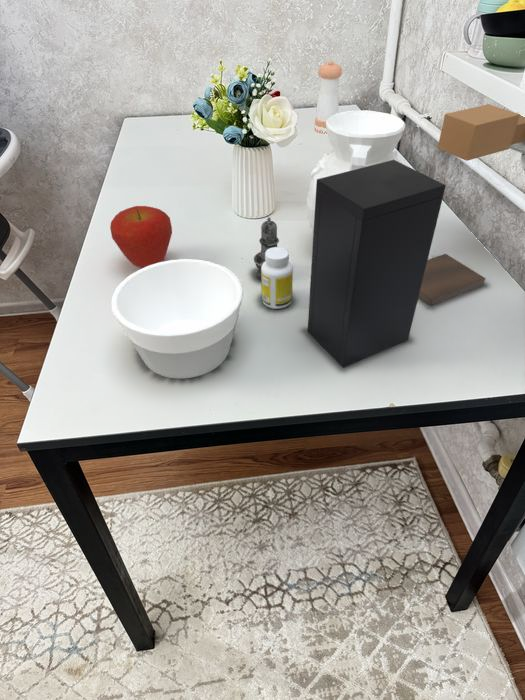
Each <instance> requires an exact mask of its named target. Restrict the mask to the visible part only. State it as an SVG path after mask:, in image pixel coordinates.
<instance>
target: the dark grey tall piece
mask: <svg viewBox="0 0 525 700" xmlns="http://www.w3.org/2000/svg"><path fill="white" fill-rule="evenodd" d="M277 225H278V224H277V223H276V222H275V221H274V220H272V218H271V217H270V216H268V217H267V218H266V220H265V221H264V222H262V223H261V226H260V234H261V235H260V238H259V240H258V241H259V244H260V251H259V252H257V253H256V254H255V255H254V256H253V262H254V264H255V266H256V268H257V271H256V272H255V278H256V279H257V280H258V281H261V282H262V279H261V267H262V264H263V263H264V262H265V252H266V251H267V250H268V249H270V248H273V247H278V243H280V239H279V237H278V226H277Z"/></svg>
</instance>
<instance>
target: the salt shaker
mask: <svg viewBox="0 0 525 700" xmlns="http://www.w3.org/2000/svg"><path fill="white" fill-rule="evenodd" d="M317 74H318V76H319V77H320V79H319V93H318V99H317V102H316V116H315V118H314V126H315V125H316V126H318V127H323V128H326V120H327V119H328V118H329V117H330V116H331V115H333V114H336V113H339V108H340V107H339V83H340V78H341V77H342V74H343V69H342V66H341V65H339V64H337V63H334V61H332V60H329V61H327V63H323V64H322V65H320V66H319V68H318V70H317ZM321 131H322V130H319V131H318V129H317V130H316V128H315V127H314V132H316V133H317V134H321V135H327V132H326V131H325V132H324V133H323V131H322V132H321ZM325 133H326V134H325Z"/></svg>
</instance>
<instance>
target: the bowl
mask: <svg viewBox="0 0 525 700" xmlns="http://www.w3.org/2000/svg"><path fill="white" fill-rule="evenodd" d="M243 298H244V289H243V284H242V283H241V281H240V279H239V277H238V276H237V275H236V274H235V273H234V272H233V271H231V270H230V269H228V268H227V267H225V266H223V265H221V264H219V263H215V262H212V261H208V260H203V259H193V258H180V259H169V260H163V261H162V262H159V263H156V264H152V265H149V266H147V267H144V268H139V269H138V270H136V271H134V272H132V273H131V274H129V275H128V276H127V277H126V278H124V279H123V280H122V281H121V282H119V284H118V285H117V287H116V288H115V290H114V292H113V294H112V297H111V301H110V307H111V312H112V314H113V317H114V318H115V319H116V321H117V323H118V324H119V326H120V328H121V329H122V331H123V332H124V334H125V335H126V337H127V338H128V339H129V341H130V343H131V344H132V345H133V347H134V349H135V350H136V352H137V353H138V355H139V357H140V358H141V360H142V361H143V363H144V364H145V366H146V367H147V368H148V369H149V370H150V371H152V372H153V373H155V374H156V375H159V376H162V377H165V378H170V379H178V380H179V379H181V380H183V379H192V378H197V377H201V376H203V375H206V374H208V373H210V372H212V371H214V370H215V369H217V368H218V367H219V366H221V365H222V364H223V362H224V361H225V360H226V359H227V357H228V355H229V353H230V349H231V345H232V341H233V339H234V338H233V337H234V334H235V329H236V326H237V321H238V318H239V314H240V310H241V306H242V303H243Z"/></svg>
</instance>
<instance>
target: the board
mask: <svg viewBox="0 0 525 700" xmlns="http://www.w3.org/2000/svg"><path fill="white" fill-rule="evenodd" d="M485 281H486V277H484V276H483V275H481V274H479V273H478V272H476V271H475V270H474V269H471V268H470V267H468V266H467V265H465V264H464V263H462V262H460V261H459V260H457V259H456V258H454V257H453V256H451V255H449V254H447V253H444V254H441V255H438V256H435V257H432V258H430V259H429V258H428V260H427V264H426V269H425V273H424V277H423V281H422V285H421V289H420V293H419V297H418V299H420V300H421V301H423V302H424V303H425V304H426V305H428V306H430V307H432V306H434V305H437V304H439V303H442V302H445V301H447V300H449V299H451V298H454V297H457V296H459V295H461V294H464V293H466V292H469V291H471V290H474V289H476V288H479V287H481V286H483V285H484V284H485Z"/></svg>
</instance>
